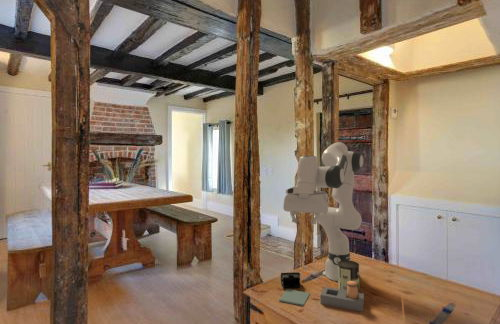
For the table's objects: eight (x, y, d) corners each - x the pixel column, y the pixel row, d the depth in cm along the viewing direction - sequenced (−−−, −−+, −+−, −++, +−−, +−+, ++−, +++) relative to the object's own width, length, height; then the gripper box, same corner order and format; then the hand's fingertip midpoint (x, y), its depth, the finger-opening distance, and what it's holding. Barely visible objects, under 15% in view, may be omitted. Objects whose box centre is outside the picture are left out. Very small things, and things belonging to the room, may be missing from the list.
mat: (287, 290, 149) (287, 288, 149) (310, 294, 143) (310, 293, 143) (279, 301, 138) (279, 299, 138) (303, 306, 133) (303, 304, 133)
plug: (348, 301, 134) (347, 280, 134) (358, 303, 132) (357, 281, 132) (346, 306, 130) (346, 284, 130) (357, 308, 128) (356, 285, 128)
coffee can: (357, 287, 150) (357, 260, 150) (361, 296, 140) (360, 268, 140) (337, 286, 152) (336, 259, 152) (339, 295, 142) (338, 267, 142)
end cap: (299, 282, 158) (298, 270, 157) (301, 288, 150) (300, 275, 150) (280, 283, 158) (280, 270, 158) (282, 289, 151) (281, 276, 150)
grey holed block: (324, 296, 141) (324, 286, 141) (364, 304, 133) (363, 293, 133) (320, 305, 133) (320, 294, 133) (362, 313, 125) (362, 302, 125)
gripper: (331, 192, 121) (330, 225, 118) (290, 192, 134) (288, 222, 131) (324, 189, 117) (322, 224, 113) (282, 189, 130) (280, 221, 127)
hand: (303, 223), depth 122 cm, fingers open, 8 cm apart
